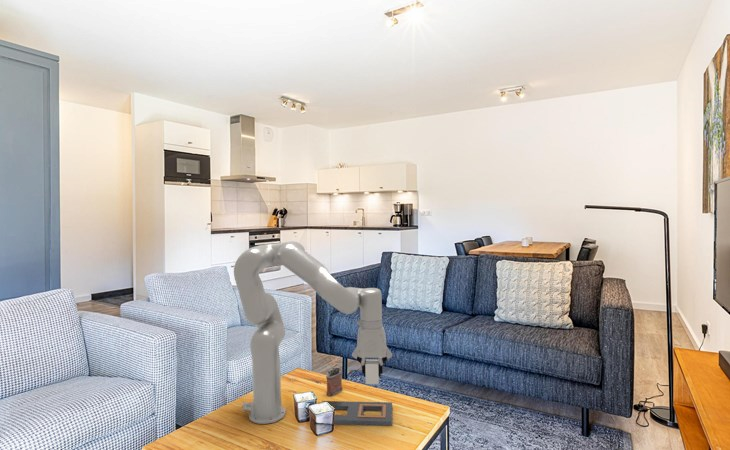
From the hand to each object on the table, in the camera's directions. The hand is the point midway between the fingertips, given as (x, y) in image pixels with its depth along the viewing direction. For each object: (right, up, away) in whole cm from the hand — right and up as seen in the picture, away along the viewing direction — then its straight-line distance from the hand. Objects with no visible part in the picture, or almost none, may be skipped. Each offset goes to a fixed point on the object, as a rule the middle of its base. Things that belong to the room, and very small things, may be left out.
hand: (372, 374), depth 146 cm
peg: (0, -2, 0) cm, 2 cm away
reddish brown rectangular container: (-15, -14, +20) cm, 28 cm away
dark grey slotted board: (-6, -14, +1) cm, 16 cm away
